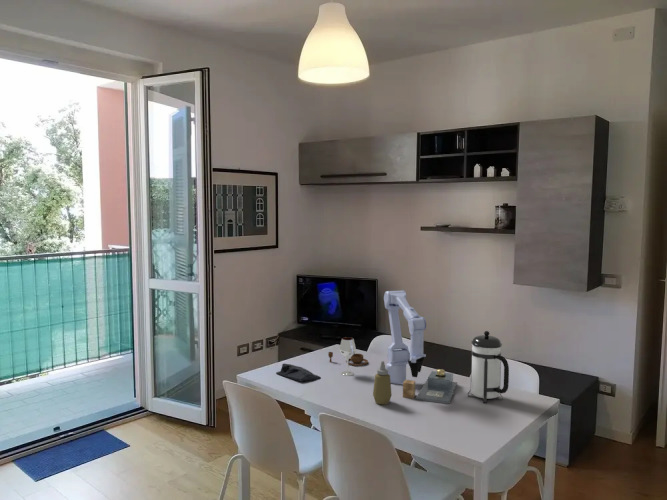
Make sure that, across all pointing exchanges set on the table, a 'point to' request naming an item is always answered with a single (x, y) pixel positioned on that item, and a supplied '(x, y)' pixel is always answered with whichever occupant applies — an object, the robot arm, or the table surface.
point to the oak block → (408, 388)
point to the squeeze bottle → (382, 386)
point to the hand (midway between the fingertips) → (416, 374)
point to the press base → (438, 388)
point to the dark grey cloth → (297, 373)
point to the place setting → (353, 359)
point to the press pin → (440, 373)
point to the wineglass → (347, 351)
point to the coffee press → (487, 367)
